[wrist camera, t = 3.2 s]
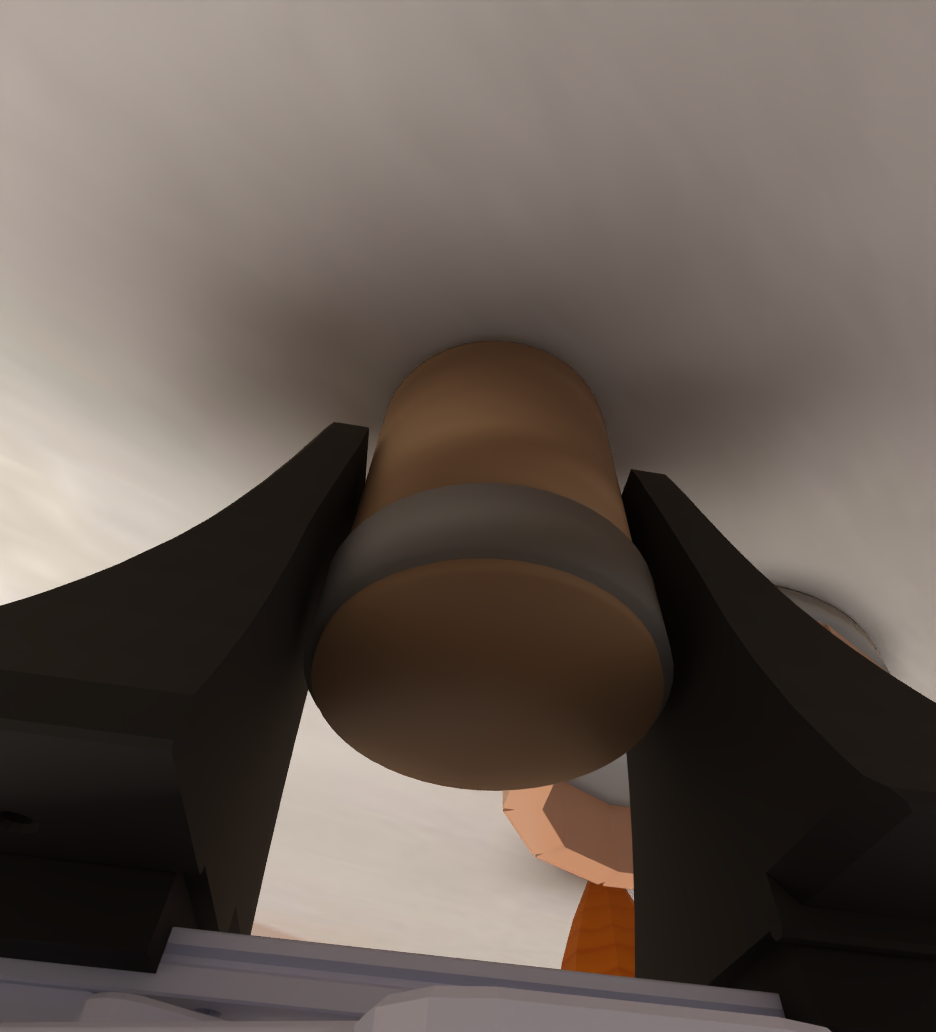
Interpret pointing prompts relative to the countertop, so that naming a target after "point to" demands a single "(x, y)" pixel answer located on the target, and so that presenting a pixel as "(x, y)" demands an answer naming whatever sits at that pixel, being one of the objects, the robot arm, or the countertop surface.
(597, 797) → the coaster
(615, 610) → the walnut pepper mill
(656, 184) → the countertop surface
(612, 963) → the carrot
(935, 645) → the countertop surface
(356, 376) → the countertop surface
